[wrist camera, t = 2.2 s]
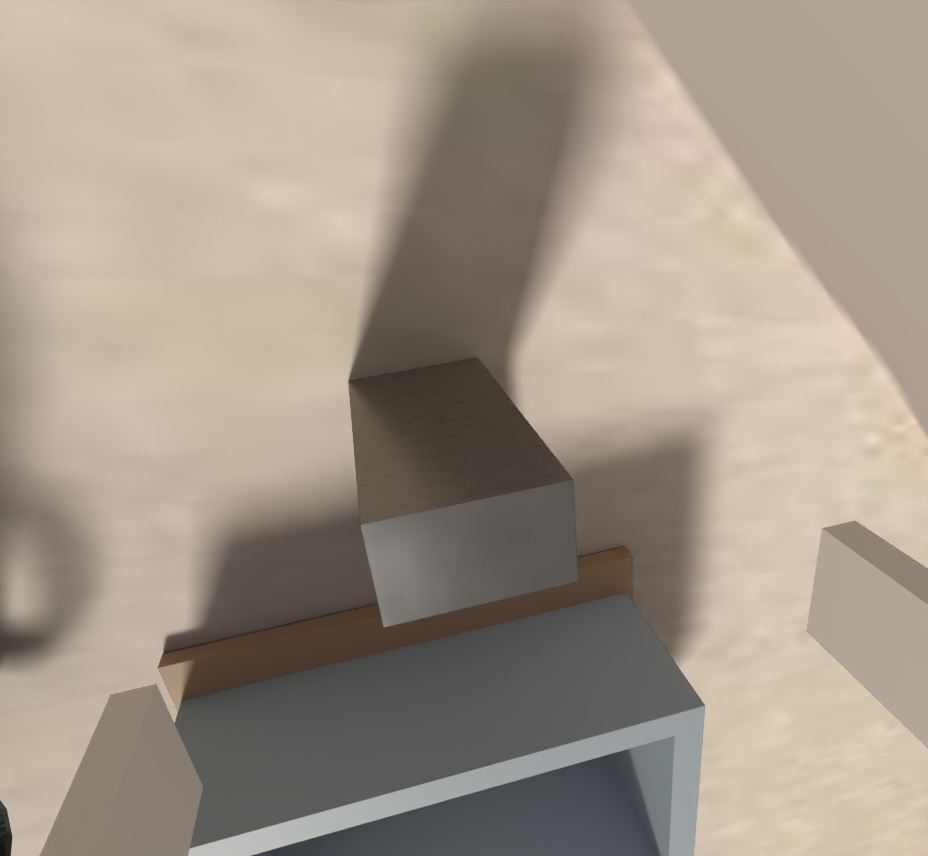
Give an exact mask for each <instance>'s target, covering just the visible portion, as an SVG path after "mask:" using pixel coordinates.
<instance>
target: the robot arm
mask: <svg viewBox="0 0 928 856" xmlns="http://www.w3.org/2000/svg"><path fill="white" fill-rule="evenodd" d="M807 632H808V633H809V634H810V635H811V636H812V637H813V638H814V639H815V640H816V641H817V642H818V643H819V644H820V645H821V646H822V647H823V648H824V649H825V650H826V651H827V652H828V653H830V654H831V655H832V656H833V657H834V658H835V659H836V660H837V661H838V662H839V663H840V664H841V665H842V666H843V667H844V668H845V669H846V670H847V671H848V672H849V673H850V674H851V675H852V676H853V677H854V678H855V679H856V680H858V681H859V682H860V683H861V684H862V685H863V686H864V687H865V688H866V689H867V690H868V691H869V692H870V693H871V694H872V695H873V696H874V697H875V698H876V699H877V700H878V701H879V702H880V703H881V704H882V705H883V706H884V707H885V708H887V709H888V710H889V711H890V712H891V713H892V714H893V715H894V716H895V717H896V718H897V719H898V720H899V721H900V722H901V723H902V724H903V725H904V726H905V727H906V728H907V729H908V730H909V731H910V732H911V733H912V734H913V735H915V736H916V737H917V738H918V739H919V740H920V741H921V742H922V743H923V744H924V745H925V746H926V747H927V748H928V568H926V567H925V566H923V565H921V564H920V563H918V562H917V561H915V560H914V559H912V558H911V557H909V556H908V555H906V554H905V553H903V552H902V551H900V550H899V549H897V548H896V547H894V546H893V545H891V544H890V543H888V542H887V541H885V540H884V539H882V538H881V537H879V536H878V535H876V534H875V533H873V532H872V531H870V530H868V529H867V528H865V527H864V526H862V525H861V524H859V523H858V522H856V521H852V522H848V523H843V524H839V525H835V526H831V527H826V528H822V532H821V539H820V546H819V552H818V559H817V565H816V572H815V579H814V585H813V592H812V598H811V605H810V611H809V618H808V625H807ZM202 790H203V785H202V783H201V781H200V779H199V777H198V774H197V772H196V770H195V768H194V766H193V763H192V761H191V759H190V757H189V755H188V753H187V750H186V748H185V746H184V744H183V742H182V739H181V737H180V735H179V733H178V731H177V728H176V726H175V724H174V722H173V720H172V717H171V715H170V713H169V711H168V709H167V706H166V704H165V702H164V700H163V698H162V695H161V693H160V691H159V689H158V687H157V684H155V685H150V686H146V687H142V688H137V689H133V690H129V691H125V692H120V693H116V694H112V695H110V697H109V700H108V702H107V704H106V707H105V709H104V711H103V713H102V716H101V718H100V720H99V722H98V725H97V727H96V729H95V732H94V734H93V736H92V738H91V741H90V743H89V745H88V748H87V750H86V752H85V754H84V757H83V759H82V761H81V763H80V766H79V768H78V770H77V773H76V775H75V777H74V779H73V782H72V784H71V786H70V788H69V791H68V793H67V795H66V798H65V800H64V802H63V804H62V807H61V809H60V811H59V813H58V816H57V818H56V820H55V823H54V825H53V827H52V829H51V832H50V834H49V836H48V838H47V841H46V843H45V845H44V848H43V850H42V852H41V854H40V856H188V853H189V849H190V844H191V839H192V835H193V830H194V826H195V821H196V817H197V812H198V808H199V803H200V799H201V794H202Z"/></svg>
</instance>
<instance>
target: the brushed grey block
mask: <svg viewBox="0 0 928 856" xmlns="http://www.w3.org/2000/svg"><path fill="white" fill-rule="evenodd" d="M348 383H349V395H350V407H351V419H352V431H353V443H354V455H355V467H356V479H357V491H358V503H359V515H360V526H361V530H362V535H363V539H364V543H365V548H366V552H367V556H368V561H369V565H370V569H371V574H372V578H373V582H374V587H375V591H376V596H377V600H378V604H379V609H380V613H381V617H382V622H383V626H384V627H388V626H392V625H396V624H401V623H405V622H409V621H413V620H417V619H422V618H426V617H430V616H434V615H438V614H443V613H447V612H451V611H455V610H459V609H464V608H468V607H472V606H476V605H480V604H485V603H489V602H493V601H497V600H501V599H506V598H510V597H514V596H518V595H522V594H527V593H531V592H535V591H539V590H543V589H548V588H552V587H556V586H560V585H564V584H568V583H573V582H577V581H578V571H577V549H576V528H575V506H574V484H573V479H572V477H571V476H570V475H569V474H568V472H567V471H566V470H565V468H564V467H563V466H562V465H561V463H560V462H559V461H558V460H557V458H556V457H555V456H554V454H553V453H552V452H551V451H550V449H549V448H548V447H547V446H546V444H545V443H544V442H543V440H542V439H541V438H540V437H539V435H538V434H537V433H536V431H535V430H534V429H533V428H532V426H531V425H530V424H529V423H528V421H527V420H526V419H525V417H524V416H523V415H522V414H521V412H520V411H519V410H518V408H517V407H516V406H515V405H514V403H513V402H512V401H511V400H510V398H509V397H508V396H507V394H506V393H505V392H504V391H503V389H502V388H501V387H500V385H499V384H498V383H497V382H496V380H495V379H494V378H493V377H492V375H491V374H490V373H489V371H488V370H487V369H486V368H485V366H484V365H483V364H482V362H481V361H480V360H479V359H478V358H474V359H468V360H463V361H457V362H452V363H446V364H440V365H435V366H429V367H424V368H418V369H413V370H407V371H401V372H396V373H390V374H385V375H379V376H374V377H368V378H362V379H357V380H351V381H348Z"/></svg>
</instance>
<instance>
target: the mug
mask: <svg viewBox="0 0 928 856" xmlns="http://www.w3.org/2000/svg"><path fill="white" fill-rule="evenodd" d="M11 845H12V833H11V828H10V823H9V818H8V813H7V809H6V808H5V806H4V805H3V803H2V802H1V801H0V856H11Z"/></svg>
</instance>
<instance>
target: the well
mask: <svg viewBox="0 0 928 856" xmlns="http://www.w3.org/2000/svg"><path fill="white" fill-rule="evenodd" d="M577 571H578V581H577V582H573V583H568V584H564V585H560V586H556V587H552V588H548V589H543V590H539V591H535V592H531V593H527V594H522V595H518V596H514V597H510V598H506V599H501V600H497V601H493V602H489V603H485V604H480V605H476V606H472V607H468V608H464V609H459V610H455V611H451V612H447V613H443V614H438V615H434V616H430V617H426V618H422V619H417V620H413V621H409V622H405V623H401V624H396V625H392V626H388V627H384V626H383V622H382V617H381V613H380V609H379V604H375V605H371V606H367V607H362V608H358V609H354V610H349V611H345V612H341V613H336V614H332V615H328V616H324V617H319V618H315V619H311V620H306V621H302V622H298V623H293V624H289V625H285V626H281V627H276V628H272V629H268V630H263V631H259V632H255V633H250V634H246V635H242V636H237V637H233V638H229V639H225V640H220V641H216V642H212V643H207V644H203V645H199V646H194V647H190V648H186V649H182V650H177V651H173V652H169V653H164V654H163V655H162V657H161V660H160V663H159V666H158V670H159V672H160V674H161V676H162V678H163V681H164V683H165V685H166V687H167V689H168V691H169V694H170V696H171V698H172V700H173V702H174V705H175V707H176V709H177V711H178V714H177V718H176V721H175V726H176V728H177V731H178V733H179V735H180V737H181V739H182V742H183V744H184V746H185V748H186V750H187V753H188V755H189V757H190V759H191V761H192V763H193V766H194V768H195V770H196V772H197V774H198V777H199V779H200V781H201V783H202V785H203V790H202V794H201V799H200V803H199V808H198V812H197V817H196V821H195V826H194V830H193V835H192V839H191V844H190V849H189V853H188V856H694V846H695V833H696V820H697V807H698V794H699V781H700V768H701V755H702V742H703V729H704V715H705V705H704V703H703V702H702V700H701V699H700V697H699V696H698V695H697V693H696V692H695V690H694V689H693V687H692V686H691V685H690V683H689V682H688V680H687V679H686V677H685V676H684V675H683V673H682V672H681V670H680V669H679V667H678V666H677V665H676V663H675V662H674V660H673V659H672V657H671V656H670V655H669V653H668V652H667V650H666V649H665V647H664V646H663V645H662V643H661V642H660V640H659V639H658V637H657V636H656V635H655V633H654V632H653V630H652V629H651V627H650V626H649V624H648V623H647V622H646V620H645V619H644V617H643V616H642V614H641V613H640V612H639V610H638V609H637V607H636V606H635V604H634V603H633V602H632V555H631V554H630V553H629V552H628V550H627V549H626V548H625V547H620V548H616V549H612V550H608V551H603V552H599V553H595V554H590V555H586V556H582V557H577Z"/></svg>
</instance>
